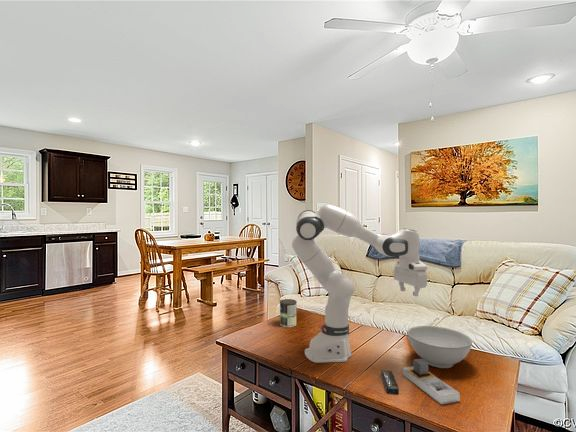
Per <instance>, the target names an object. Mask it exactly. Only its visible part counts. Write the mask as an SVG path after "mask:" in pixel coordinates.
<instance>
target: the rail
mask: <svg viewBox="0 0 576 432" xmlns="http://www.w3.org/2000/svg"><path fill="white" fill-rule="evenodd" d="M402 375H403V377H405V378H406V379H407V380H409V381H410V382H411V383H412V384H414V385H415V386H417V387H418V388H419V389H420V390H421V391H423V392H424V393H426V394H427V395H428V396H429V397H430V398H432V399H433V400H435V402H437V403H438V404H440V405H441V406H442V405H446V404H451V403H457V402H460V400H461V399H460V398H461V397H460V396H461V395H460V392H459V391H458V390H456V389H455V388H453V387H452V386H451V385H449V384H447V382H444V381H443V380H441V379H440V378H439V377H437V376H436V375H435V374H433V373H432V372H431V371H429V370H428V376H424V377H418V376H417V375H416V374H414V373H413V366H406V367H403V368H402Z"/></svg>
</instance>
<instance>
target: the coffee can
mask: <svg viewBox="0 0 576 432" xmlns="http://www.w3.org/2000/svg"><path fill="white" fill-rule="evenodd" d="M297 302H298V301H297V300H295V299H292V298H289V299H288V298H287V299H286V298H285V299H281V300H280V301H279V325H280V327H284V328H291V327H295V326H297Z"/></svg>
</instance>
